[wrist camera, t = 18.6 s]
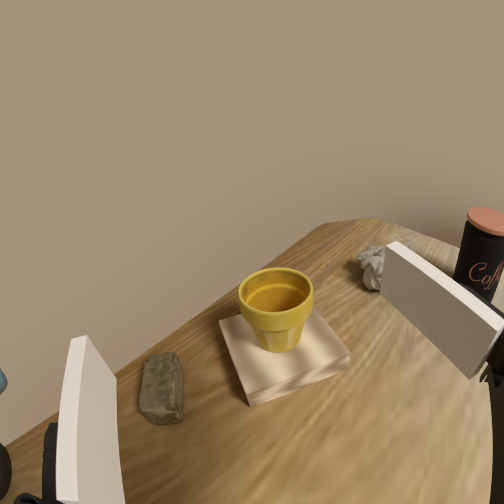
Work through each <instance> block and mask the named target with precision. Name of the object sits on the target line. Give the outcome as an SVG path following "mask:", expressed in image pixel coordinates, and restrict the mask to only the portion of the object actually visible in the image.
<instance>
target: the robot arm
mask: <svg viewBox="0 0 504 504" xmlns="http://www.w3.org/2000/svg"><path fill="white" fill-rule="evenodd" d="M380 294H381V295H382V296H383V297H384V298H385V299H387V300H388V301H389V302H390V303H391V304H392V305H393V306H394V307H395V308H396V309H397V310H398V311H400V312H401V313H402V314H403V315H404V316H405V317H406V318H407V319H408V320H409V321H410V322H411V323H412V324H413V325H414V326H416V327H417V328H418V329H419V330H420V331H421V332H422V333H423V334H424V335H425V336H426V337H427V338H428V339H429V340H430V341H431V342H432V343H433V344H434V345H435V346H436V347H437V348H438V349H439V350H440V351H441V352H442V353H443V354H444V355H445V356H446V357H447V358H448V359H449V360H450V361H451V362H452V363H453V364H454V365H455V366H456V367H457V368H458V369H459V370H460V371H461V372H462V373H463V374H464V375H465V376H466V377H467V378H468V379H469V380H470V379H471V378H472V377H474V376H475V375H476V374H477V373H478V372H479V371H480V369H481V368H482V366H483V365H484V363H485V361H486V362H487V363H488V365H487V367H486V368H485V370H484V371H483V373H482V375H481V376H480V381H479V382H482V381H483V379H484V378H485V376H486V375H487V377H486V378H485V381H484V382H488V384H489V392H490V402H491V414H492V432H493V465H492V483H491V494H490V503H489V504H504V314H503V313H502V312H501V311H500V310H499V309H497V308H496V307H495V306H494V305H492V304H491V303H490V302H489V301H487V300H485V298H483V297H482V296H481V295H478V293H477V292H476V291H474V290H473V289H472V288H470V287H468V286H466V285H464V284H461V283H457V282H455V281H454V280H453V279H451V278H450V277H449V276H447V275H446V274H444V273H443V272H442V271H440V270H439V269H437V268H436V267H435V266H433V265H432V264H430V263H429V262H427V261H426V260H425V259H423V258H422V257H420V256H419V255H417V254H416V253H414V252H413V251H411V250H410V249H408V248H407V247H405V246H404V245H402V244H401V243H399V242H398V241H397V242H394V243H391V244H389V245H386V248H385V257H384V266H383V273H382V281H381V287H380ZM6 387H7V379H6V377H5V375H4V373H3V372H2V370H1V369H0V394H1V393H2V392H3V391H4V390H5V389H6ZM43 459H44V461H43V467H42V500H41V499H39V498H37V497H35V496H33V495H31V494H29V493H22V494H20V495H19V496H18V497H17V498H16V499H15V501H14V504H125V498H124V492H123V484H122V476H121V468H120V458H119V446H118V431H117V405H116V378H115V376H114V375H113V373H112V372H111V371H110V369H109V368H108V366H107V365H106V363H105V362H104V361H103V359H102V358H101V356H100V355H99V353H98V352H97V350H96V348H95V347H94V346H93V344H92V342H91V341H90V339H89V337H88V336H87V335H86V336H82V337H78V338H74V339H71V344H70V348H69V353H68V358H67V364H66V370H65V375H64V382H63V388H62V395H61V404H60V412H59V422H56V423H50V424H49V426H48V428H47V431H46V433H45V436H44V451H43ZM10 480H11V462H10V458H9V455H8V453H7V451H6V449H5V447H4V446H3V445H2V444H1V443H0V500H1V499H2V498H3V497H4V496H5V494H6V492H7V490H8V488H9V485H10Z"/></svg>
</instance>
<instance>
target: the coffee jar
mask: <svg viewBox="0 0 504 504" xmlns="http://www.w3.org/2000/svg"><path fill="white" fill-rule="evenodd" d="M467 218H468V220H467V221H466V223H465V228H464V233H463V238H462V242H461V247H460V251H459V256H458V260H457V264H456V268H455V271H454V275H453V280H454V281H455V282H457V283H461V284H464V285H466V286H468V287H470V288H472V289H473V290H474V291H476V292H477V293H478V295H481V296H482V297H483V298H485V300H487V301H489V302H490V303H491V301H492V299H493V296H494V294H495V291H496V288H497V286H498V283H499V280H500V277H501V274H502V271H503V268H504V214H502V213H500V212H498V211H495V210H492V209H489V208H484V207H473V208H470V209H469V210H468V212H467Z"/></svg>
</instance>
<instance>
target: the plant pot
mask: <svg viewBox="0 0 504 504" xmlns="http://www.w3.org/2000/svg"><path fill="white" fill-rule="evenodd" d="M238 301H239V306H240V310H241V313H242V316H243V318H244V319H245V320H246V321H247V322H248V323H249V324H250V325H251V327H252V329H253V331H254V333H255V335H256V338H257V340H258V342H259V344H260V345H261V346H262V347H263V348H264V349H266V350H268V351H270V352H275V353H280V352H286V351H288V350H291V349H292V348H294V347H295V346H296V345H297V344H298V343H299V341H300V338H301V335H302V331H303V327H304V324H305V320H306V319H307V318H308V317H309V315H310V313H311V311H312V307H313V285H312V282H311V281H310V279H309V278H308V277H307V276H306V275H304V274H303V273H301V272H299V271H297V270H294V269H289V268H268V269H264V270H260V271H258V272H255V273H253V274H251V275H250V276H248V277H247V278H246V279H245V280H244V281H243V282H242V283H241V284H240V286H239V289H238Z"/></svg>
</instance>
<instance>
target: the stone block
mask: <svg viewBox="0 0 504 504" xmlns="http://www.w3.org/2000/svg"><path fill="white" fill-rule="evenodd" d="M183 395H184V374H183V369H182V367H181V364H180V361H179V358H178V356H177V355H176V353H162V354H160V355H151V356H150V357H149V359H148V360H145V362H144V370H143V377H142V384H141V390H140V394H139V404H138V406H139V410H140V412H141V413H142V414H143V415H144V416H145V417H146V418H147V420H148V421H149V422H150V423H153V424H158V425H166V424H169V423H180V422H181V421H182V419H183Z"/></svg>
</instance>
